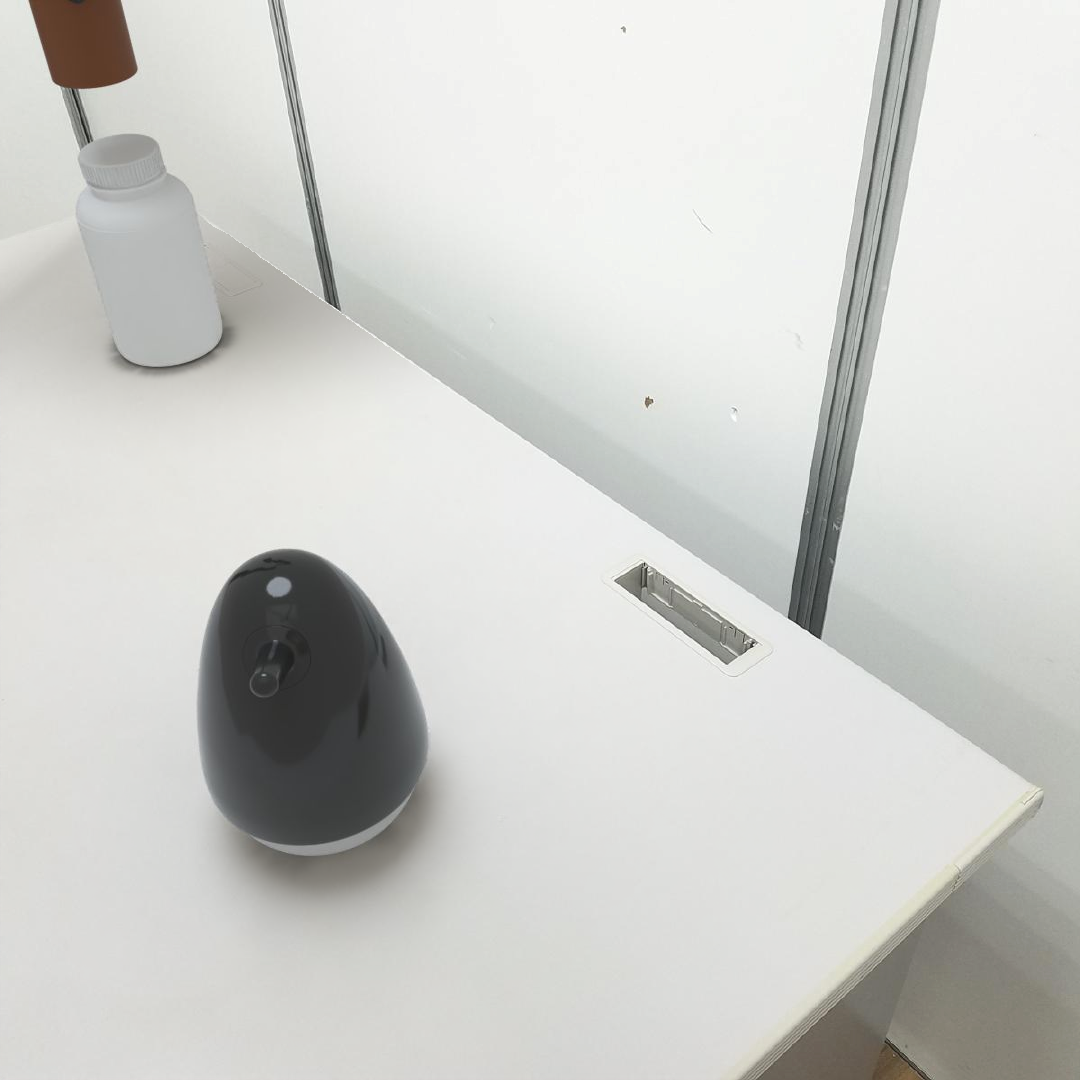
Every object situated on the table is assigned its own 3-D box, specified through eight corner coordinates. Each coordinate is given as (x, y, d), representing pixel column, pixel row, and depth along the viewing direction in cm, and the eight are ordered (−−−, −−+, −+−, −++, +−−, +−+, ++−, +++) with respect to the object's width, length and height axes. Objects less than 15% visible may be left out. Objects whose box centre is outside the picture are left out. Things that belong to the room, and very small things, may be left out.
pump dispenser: (203, 901, 51) (113, 673, 41) (239, 719, 59) (171, 490, 49) (432, 891, 51) (398, 662, 41) (437, 711, 59) (411, 481, 49)
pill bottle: (96, 363, 84) (33, 167, 74) (149, 308, 90) (97, 120, 80) (195, 376, 83) (144, 178, 73) (242, 320, 88) (201, 129, 78)
